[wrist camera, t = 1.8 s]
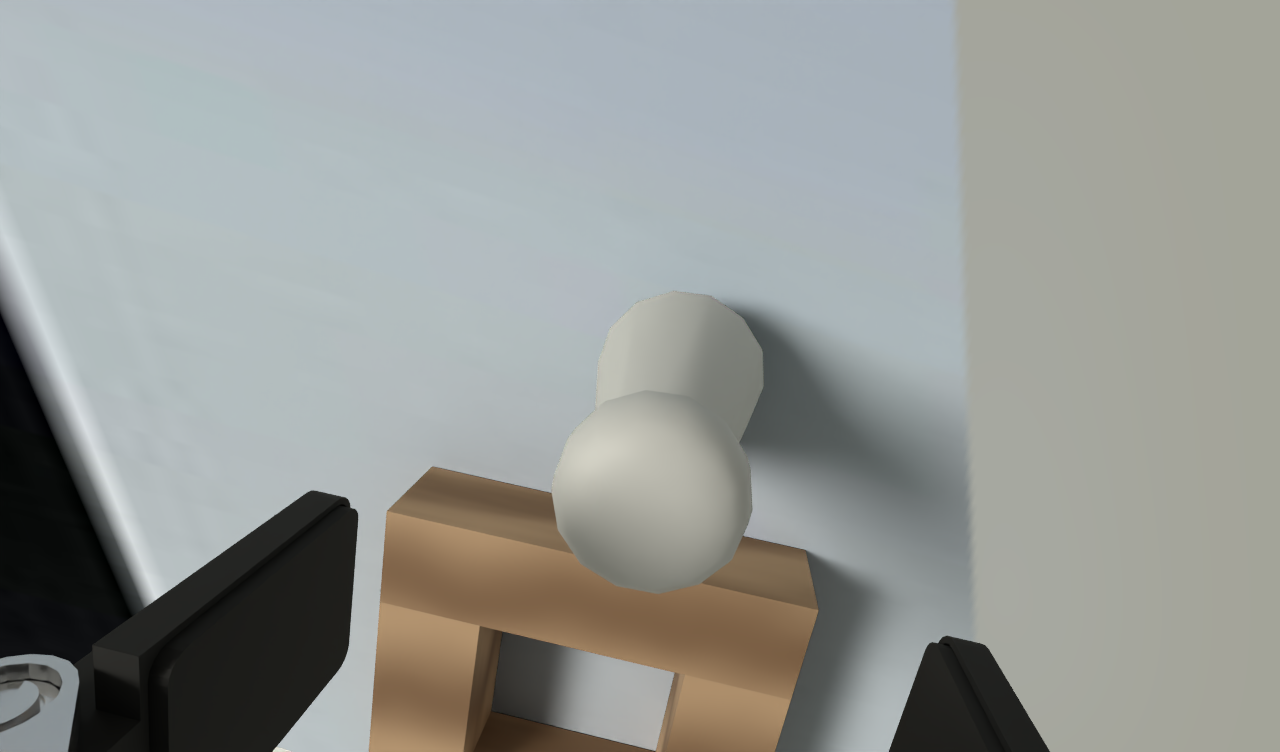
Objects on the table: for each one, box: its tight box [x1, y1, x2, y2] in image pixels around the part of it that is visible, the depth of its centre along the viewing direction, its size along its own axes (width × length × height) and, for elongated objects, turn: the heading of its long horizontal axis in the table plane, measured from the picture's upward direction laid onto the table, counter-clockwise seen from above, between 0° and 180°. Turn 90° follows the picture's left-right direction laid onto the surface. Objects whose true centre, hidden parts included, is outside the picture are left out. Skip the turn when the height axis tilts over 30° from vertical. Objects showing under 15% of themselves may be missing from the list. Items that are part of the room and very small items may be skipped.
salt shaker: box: [551, 291, 764, 594], centre depth 19 cm, size 6×6×13 cm
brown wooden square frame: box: [369, 467, 819, 752], centre depth 28 cm, size 16×16×4 cm
